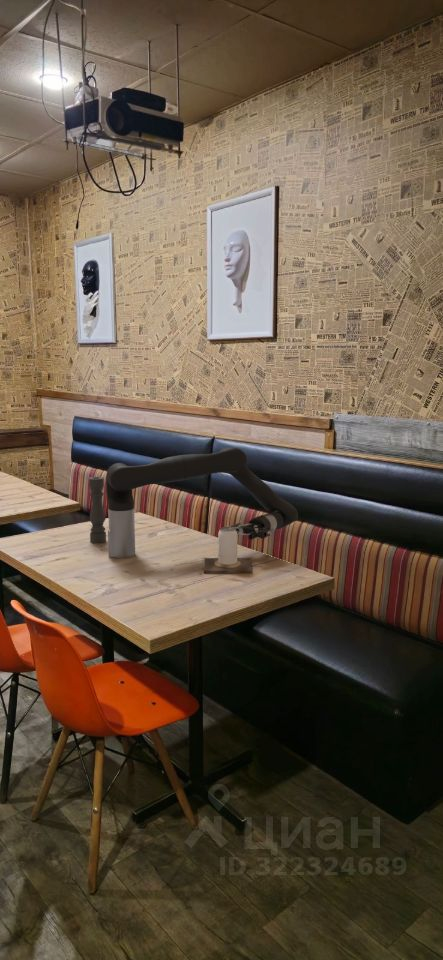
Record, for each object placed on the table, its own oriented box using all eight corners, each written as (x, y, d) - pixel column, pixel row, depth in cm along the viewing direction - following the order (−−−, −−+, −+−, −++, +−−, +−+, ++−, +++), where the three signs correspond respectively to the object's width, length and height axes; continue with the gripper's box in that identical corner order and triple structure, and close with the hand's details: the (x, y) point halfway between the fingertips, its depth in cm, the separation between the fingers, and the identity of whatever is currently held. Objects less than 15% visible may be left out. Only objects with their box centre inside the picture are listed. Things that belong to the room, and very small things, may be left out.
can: (238, 560, 232) (238, 526, 230) (236, 565, 226) (236, 531, 223) (219, 559, 233) (219, 526, 231) (217, 565, 226) (217, 531, 224)
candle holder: (104, 543, 258) (102, 479, 253) (88, 543, 258) (86, 479, 253) (107, 539, 264) (105, 476, 259) (91, 539, 264) (89, 476, 259)
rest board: (203, 573, 222) (203, 569, 222) (204, 560, 236) (204, 556, 236) (251, 573, 222) (251, 569, 222) (249, 560, 236) (250, 556, 236)
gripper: (246, 513, 249) (221, 522, 236) (279, 518, 241) (256, 527, 228) (246, 532, 251) (221, 542, 237) (279, 538, 243) (256, 548, 230)
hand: (238, 535), depth 233 cm, fingers open, 8 cm apart
